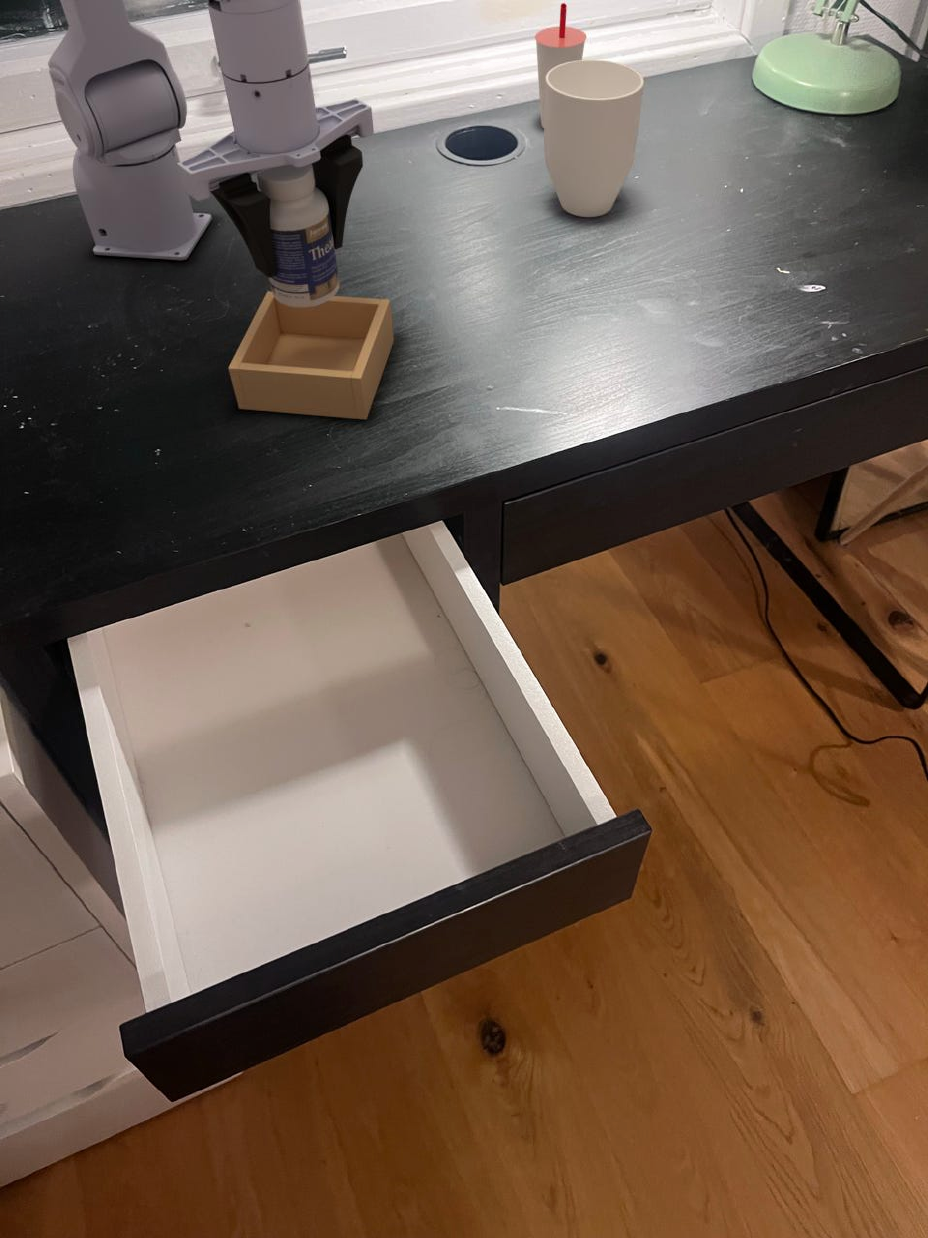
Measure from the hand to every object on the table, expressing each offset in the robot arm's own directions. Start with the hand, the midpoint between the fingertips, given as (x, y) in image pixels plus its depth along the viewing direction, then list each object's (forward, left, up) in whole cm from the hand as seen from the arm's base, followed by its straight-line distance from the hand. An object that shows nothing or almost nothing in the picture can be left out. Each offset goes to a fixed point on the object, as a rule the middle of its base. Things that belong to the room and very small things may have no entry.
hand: (299, 256), depth 73 cm
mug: (+19, +30, -10) cm, 37 cm away
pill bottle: (0, 0, -3) cm, 3 cm away
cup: (+15, +46, -10) cm, 49 cm away
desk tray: (0, -1, -10) cm, 10 cm away
